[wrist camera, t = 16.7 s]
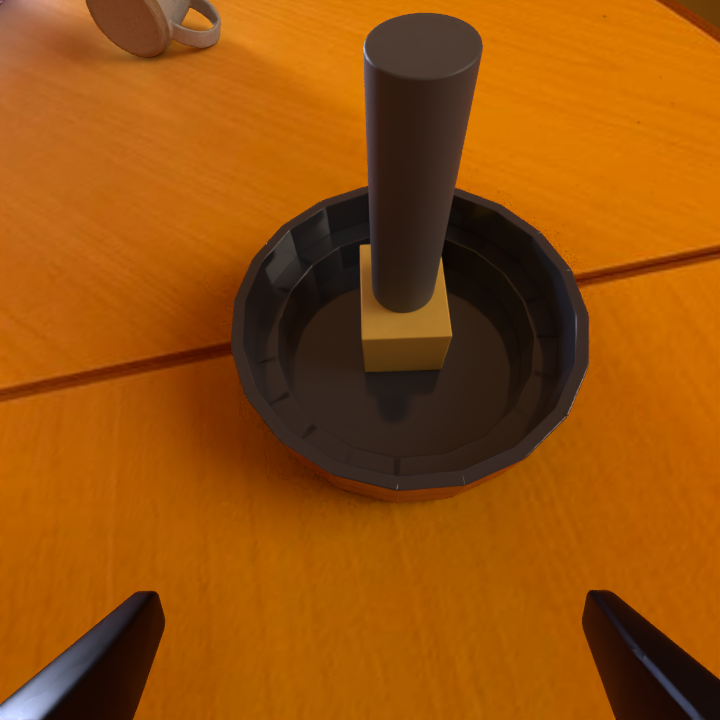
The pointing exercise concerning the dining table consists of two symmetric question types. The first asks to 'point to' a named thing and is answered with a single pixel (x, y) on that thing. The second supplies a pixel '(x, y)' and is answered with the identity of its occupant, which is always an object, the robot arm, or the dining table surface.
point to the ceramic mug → (152, 24)
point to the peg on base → (412, 182)
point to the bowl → (419, 387)
